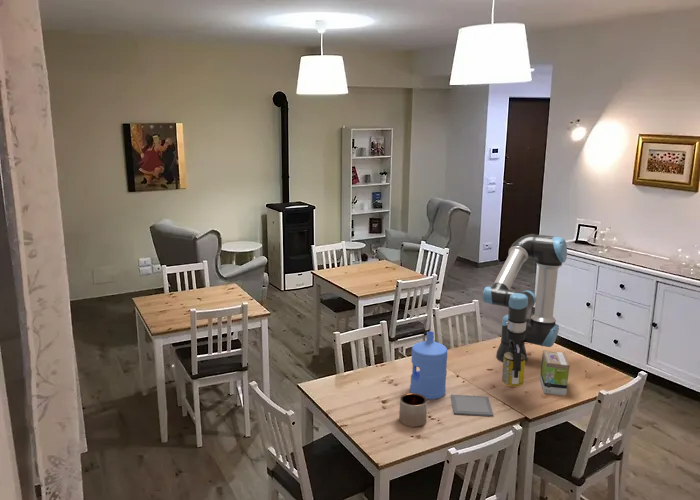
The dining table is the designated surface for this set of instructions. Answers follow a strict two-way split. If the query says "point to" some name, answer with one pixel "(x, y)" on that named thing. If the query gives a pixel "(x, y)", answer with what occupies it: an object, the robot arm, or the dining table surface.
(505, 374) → the beverage can
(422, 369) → the water jug
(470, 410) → the plate
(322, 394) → the dining table surface
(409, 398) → the planter
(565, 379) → the tea box
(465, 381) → the dining table surface
